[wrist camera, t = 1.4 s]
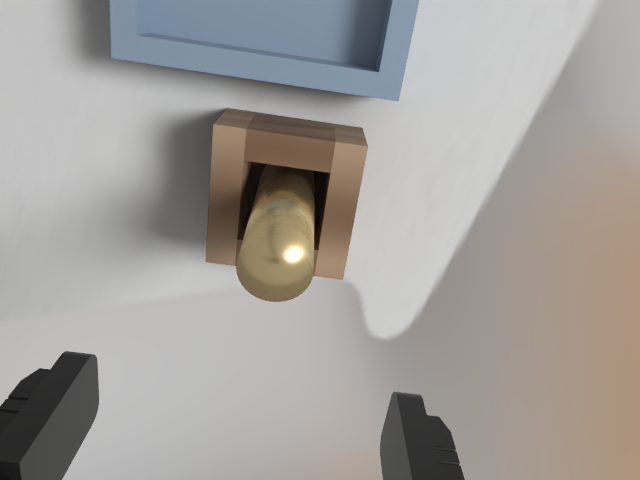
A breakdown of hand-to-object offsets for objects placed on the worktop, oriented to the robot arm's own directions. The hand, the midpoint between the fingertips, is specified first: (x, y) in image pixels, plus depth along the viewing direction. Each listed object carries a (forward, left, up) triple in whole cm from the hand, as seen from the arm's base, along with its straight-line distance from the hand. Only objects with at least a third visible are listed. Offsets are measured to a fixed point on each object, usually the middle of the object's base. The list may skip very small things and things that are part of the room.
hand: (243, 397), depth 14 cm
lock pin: (0, 0, -18) cm, 18 cm away
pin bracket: (0, 0, -18) cm, 18 cm away
